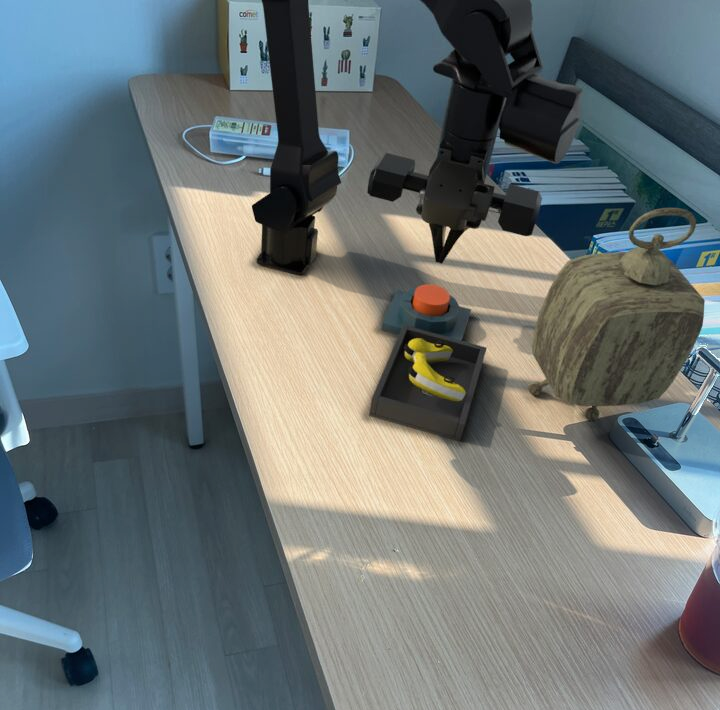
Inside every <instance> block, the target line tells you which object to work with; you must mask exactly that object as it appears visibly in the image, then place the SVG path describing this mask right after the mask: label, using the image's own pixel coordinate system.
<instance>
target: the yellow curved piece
mask: <svg viewBox="0 0 720 710" xmlns="http://www.w3.org/2000/svg"><path fill="white" fill-rule="evenodd" d="M438 343H442V344H441V345H439V344H438ZM404 350H405V357H406V359H407V360H409V361H412V362H414V363H415V364H414V365H413V366H411V367H410V368H409V379H410V381H411V382H412V384H414V385H415V386H416V387H417V388H420V390H422V393H423V395H426V396H431V397H432V396H433V395H435V396H437V397H440V398H444V399H447V400H452V401H462V399H463V398H464V396H465V394H466V392H465V390H464V389H463V387H461V386H460V385H458V384H456V383H454V378H453V377H452V376H446V377H450V378H451V379H452V381H450V380H448V379H446V377H445V378H444V377H442V376H440V375H439V374H437V373H436V372H435V371H434V370H433V369H432V368H431V367H430V366H429V365H428V364H427V362H432V361H444V360H447V359H449V358H450V356H451V354H452V352H453V350H452V349H451V348H450V347H448V346H445V345H444V344H443V342H442V341H437V342H436V343H435V344H431V343H429V342H426V341H425V340H423V339H421V338H416V339H413V340H411V341H410V342H409V343H408V344H406V345H405V346H404ZM432 394H433V395H432Z"/></svg>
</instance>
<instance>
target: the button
mask: <svg viewBox="0 0 720 710" xmlns="http://www.w3.org/2000/svg"><path fill="white" fill-rule="evenodd" d="M416 288H417V287H416ZM450 295H451V294H450V293H449V292H448V291H447V290H446V289H445V288H443V287H441V286H439V285H436V284H421V285H419V286H418V288H417V289H416V290H415V294H414V299H413V307H414V309H416V310H417V311H418V312H420V313H422V314H426V315H429V316H441V315H443V314H445V313H446V311H447V308H448V304H449V300H450Z"/></svg>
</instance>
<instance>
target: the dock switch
mask: <svg viewBox="0 0 720 710" xmlns="http://www.w3.org/2000/svg"><path fill="white" fill-rule="evenodd" d="M418 287H419V286H418ZM418 287H412V288H411V289H409V290H407V291H405V290H401V289H396V291H395V293H394V295H393V298H392V300H391V302H390V305H389V307H388V308H387V311H386V313H385V315H384V317H383V320H382V321H381V326H380V331H382V332H386V333H389V334H393V335H396V336H399V333H400V331H401V329H402V326H403V325H406V326H408V327H409V326H410V327H413V328H417V329H421V330H424V331H428V332H432V333H435V334H439V335H443V336H446V337H450V338H454V339H457V340H461V341H463V338H464V336H465V335H464V334H465V332H466V328H467V325H468V323H469V319H470V316H471V312H472V308H468V307H464V306H461V305H460V304H459V303H458V301H457V299H456V297H453V296H452V295H451V294H449V295H450V300H449V304H448V308H447V311H446V313H445V314H443V315H441V316H429V315H426V314H422V313H420V312H418V311H417V310H416V309H414V307H413V299H414V294H415V290H416V289H417V288H418Z"/></svg>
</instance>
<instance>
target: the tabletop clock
mask: <svg viewBox="0 0 720 710" xmlns="http://www.w3.org/2000/svg"><path fill="white" fill-rule="evenodd" d="M663 216H676V217H683V218H684V219H687V221H688V222H689V226H690V227H689V230H688V231H687V233H685V235H682V236H680V237H679V238H675V239H671V240H667V241H664V240H665V237H664V235H662V234H660V233H656V234H653V237H652V239H651V241H645V240H641V239H638V238H637V237H636V236H634V235H635V230H636V229H637V228H638V227H639V226H640V225H641V224H643V223H644V222H646V221H647V220H649V219H653V218H655V217H663ZM696 223H697V219H696V217H695V216H694V214H693V213H692V212H691V211H689V210H687V209H685V208H679V207H662V208H656V209H653V210H651V211H648V212H646V213H644V214H643V215H641V216H639V217H638V218H637V219H636V220H635V221H634V222H633V223H632V224H631V226H630V228H629V230H628V239H629V241H630V242H631V244H632V245H634V246H636V247H634V248H631V249H629V250H627V251H617V252H615V251H614V252H601V253H591V254H586V255H581V256H578V257H575V258H572V259H570V260H567V262H566V263H565V264H564V265H563V266H562V268H561V269H560V270H559V271H558V273H557V275H556V276H555V278H554V280H553V281H552V283H551V285H550V287H549V289H548V292H547V294H546V296H545V298H544V300H543V303H542V305H541V307H540V309H539V313H538V315H537V316H538V317H537V319H536V324H535V327H534V330H533V335H532V341H531V343H532V344H531V351H532V356H533V357H534V360H535V361H536V363H537V364H538V366H539V368H540V370H541V372H542V374H543V375H544V378H545V379H544V380H543V381H541V382H539V381H532V382H530V383H529V385H528V392H529V393H530V395H533V396H537V395H540V394H541V393H542V391H543V389H544V388H543V387H546V386H550V388H551V390H552V391H553V394H554V395H555V397H556V398H558V399H560V400H562V401H566V402H568V403H571V404H573V405H576V406H580V407H588V408H587V409H586V410H585V413H584V416H585V418H586V419H587V421H591V422H594V421H596V420H598V419H599V417H600V415H601V413H600V410H599V409H598V407H616V406H625V405H637V404H644V403H649V402H652V401H655V400H658V399H660V398H661V397H662V395H664V394H665V393H666V392H667V390H668V389H669V388H670V387H671V385H672V384H673V382H674V381H675V380H676V378H677V376H678V374H679V373H680V371H681V370H682V368H683V367H684V365H685V364H686V362H687V360H688V358H689V356H690V354H691V352H692V350H693V348H694V347H695V345H696V342H697V340H698V338H699V336H700V334H701V331H702V328H703V325H704V317H705V301H706V299H704V297H703V295H701V294H700V293H699V292H698V290H697V289H696V288H695V287H694V286H693V284H691V282H690V280H688V278H687V277H686V276H685V275H684V274H683V273H682V272H681V271H680V269H679V268H678V267H677V266H676V265H675V264H674V262H673V261H672V260H671V259H669V258H668V256H667V255H666V253H664V251H663V250H664V249H670V248H673V247H676V246H679V245H681V244H683V243H684V242H685V241H687V240H689V238H690V237H691V236H692V235H693V234H694V233H695V229H696V226H697V224H696Z"/></svg>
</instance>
